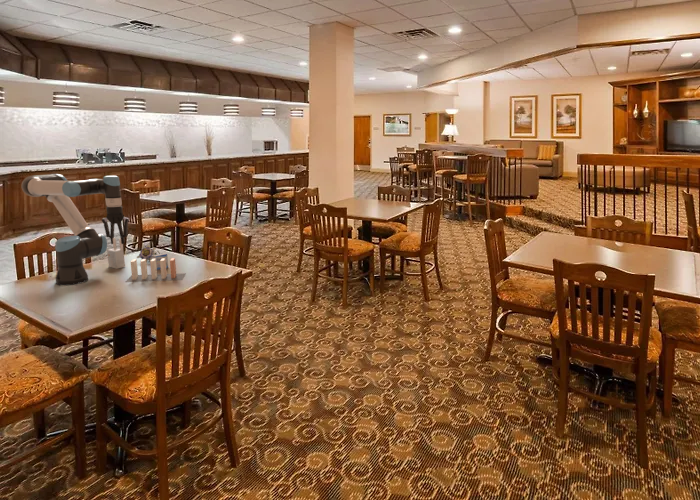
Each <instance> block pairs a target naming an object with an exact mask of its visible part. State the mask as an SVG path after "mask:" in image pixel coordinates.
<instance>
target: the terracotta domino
mask: <svg viewBox="0 0 700 500" xmlns="http://www.w3.org/2000/svg"><path fill="white" fill-rule="evenodd" d="M169 267H170V274H171V278H175V277H176V274H177V270H176V269H177V267H176V258H175V257H171V258H170V259H169Z"/></svg>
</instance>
